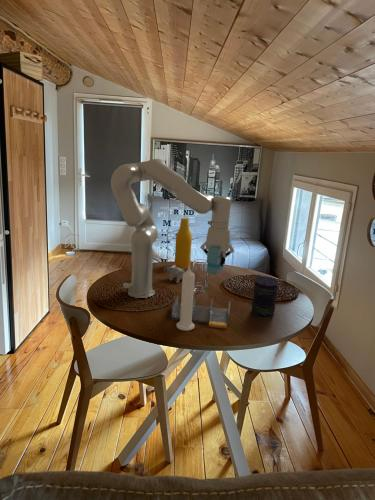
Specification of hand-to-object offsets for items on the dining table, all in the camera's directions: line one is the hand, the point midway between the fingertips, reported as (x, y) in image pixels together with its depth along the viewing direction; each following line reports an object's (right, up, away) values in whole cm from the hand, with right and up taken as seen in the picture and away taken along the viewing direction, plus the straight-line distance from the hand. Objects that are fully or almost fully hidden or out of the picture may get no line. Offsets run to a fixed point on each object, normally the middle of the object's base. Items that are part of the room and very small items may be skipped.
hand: (215, 264), depth 160 cm
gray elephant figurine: (-20, -10, +30) cm, 37 cm away
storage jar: (+20, -21, -4) cm, 30 cm away
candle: (-13, -24, -19) cm, 33 cm away
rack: (-7, -21, -10) cm, 25 cm away
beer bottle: (-16, -4, +52) cm, 54 cm away
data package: (0, -3, +1) cm, 3 cm away
